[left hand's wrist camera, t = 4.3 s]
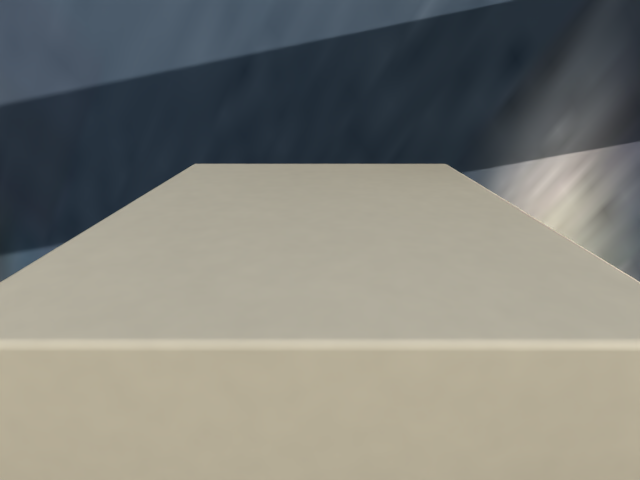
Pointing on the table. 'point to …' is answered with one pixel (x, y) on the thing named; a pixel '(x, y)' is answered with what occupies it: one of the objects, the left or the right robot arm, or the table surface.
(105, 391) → the box
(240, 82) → the table surface
